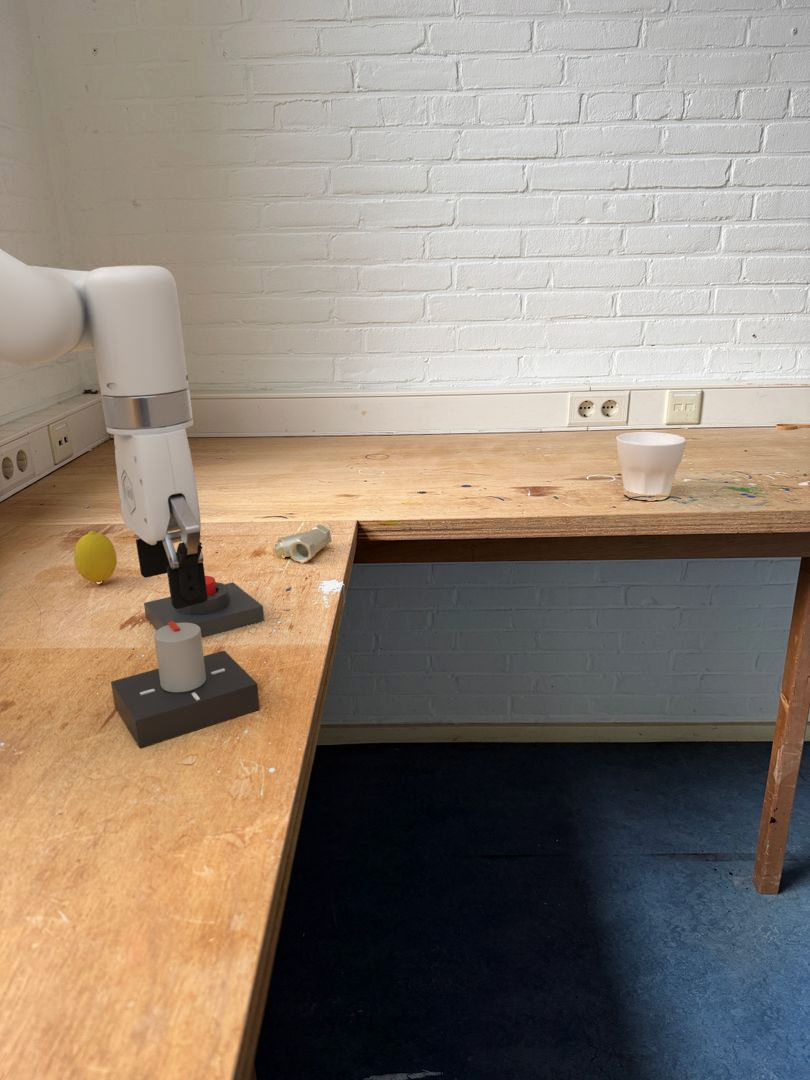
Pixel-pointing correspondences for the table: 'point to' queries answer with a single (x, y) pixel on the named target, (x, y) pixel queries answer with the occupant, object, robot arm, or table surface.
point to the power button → (210, 585)
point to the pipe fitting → (303, 544)
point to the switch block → (209, 611)
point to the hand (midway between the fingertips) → (173, 588)
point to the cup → (649, 461)
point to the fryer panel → (184, 701)
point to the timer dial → (180, 657)
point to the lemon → (95, 557)
